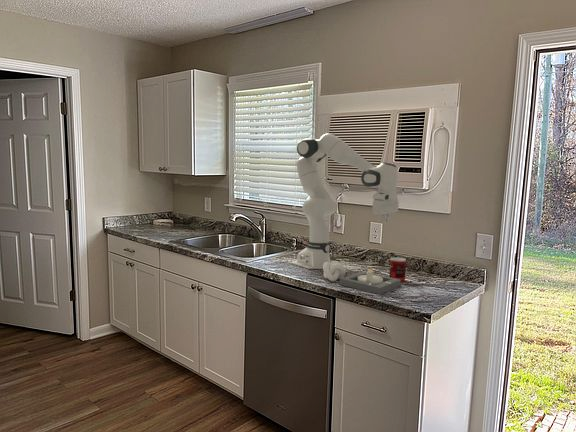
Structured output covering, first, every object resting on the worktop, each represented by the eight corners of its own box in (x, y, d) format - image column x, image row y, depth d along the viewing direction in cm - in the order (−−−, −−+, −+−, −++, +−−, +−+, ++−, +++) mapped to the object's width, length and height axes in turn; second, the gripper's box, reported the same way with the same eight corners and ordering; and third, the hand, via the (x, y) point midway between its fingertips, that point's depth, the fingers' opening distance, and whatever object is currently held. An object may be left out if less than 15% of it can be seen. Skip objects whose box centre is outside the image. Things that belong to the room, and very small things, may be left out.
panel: (339, 284, 216) (339, 278, 215) (361, 277, 231) (361, 271, 230) (379, 294, 201) (380, 287, 201) (400, 285, 217) (400, 279, 216)
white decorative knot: (335, 284, 217) (335, 266, 215) (315, 279, 224) (316, 262, 223) (348, 279, 225) (348, 262, 224) (328, 275, 233) (329, 258, 232)
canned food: (393, 277, 232) (394, 256, 231) (407, 280, 227) (408, 259, 226) (386, 280, 226) (387, 258, 225) (401, 283, 221) (402, 261, 220)
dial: (359, 277, 224) (360, 265, 223) (384, 280, 220) (384, 268, 219) (355, 284, 212) (355, 271, 211) (380, 286, 208) (381, 273, 207)
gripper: (391, 193, 235) (389, 219, 237) (371, 195, 220) (369, 223, 222) (402, 195, 231) (400, 221, 233) (382, 196, 216) (380, 225, 218)
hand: (384, 222), depth 227 cm, fingers closed
